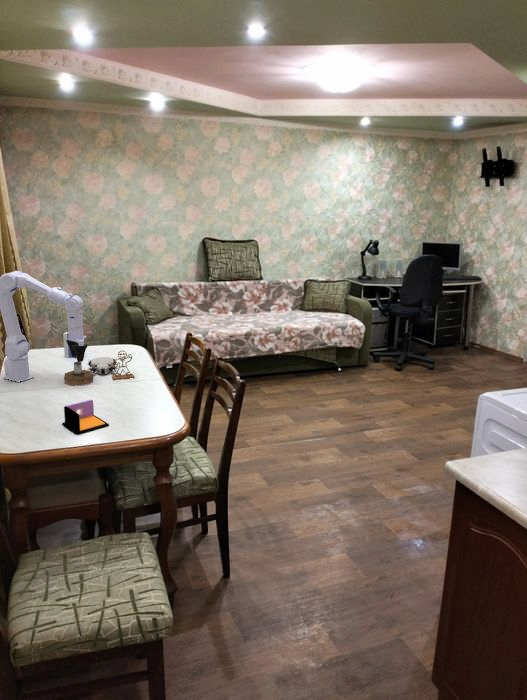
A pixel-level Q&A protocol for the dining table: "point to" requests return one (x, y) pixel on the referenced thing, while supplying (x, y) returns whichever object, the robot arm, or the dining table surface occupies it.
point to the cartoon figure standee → (126, 375)
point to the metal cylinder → (78, 368)
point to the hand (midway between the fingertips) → (77, 359)
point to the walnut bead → (78, 378)
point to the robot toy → (102, 365)
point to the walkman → (66, 347)
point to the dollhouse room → (82, 418)
